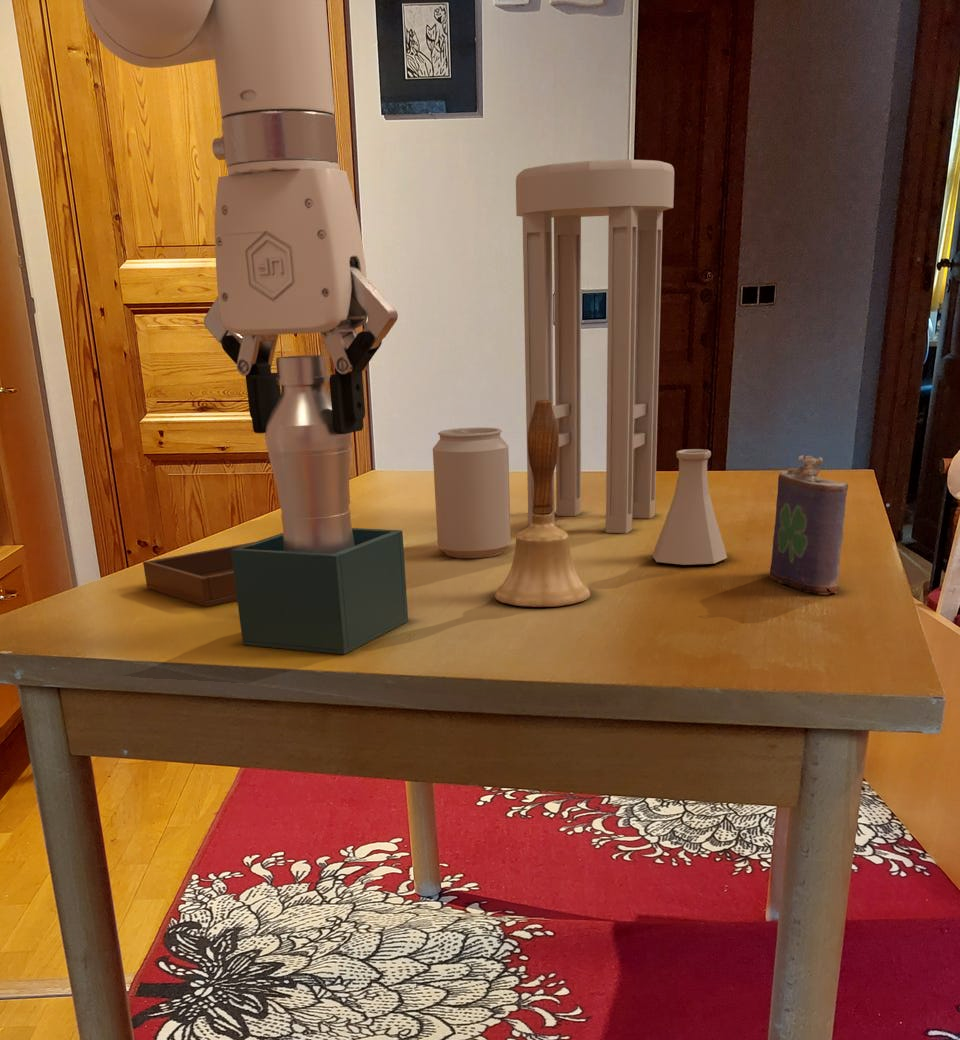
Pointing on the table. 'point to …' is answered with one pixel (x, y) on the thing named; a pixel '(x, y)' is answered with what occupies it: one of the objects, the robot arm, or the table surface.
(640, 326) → the stool
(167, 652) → the table surface
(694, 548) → the flask
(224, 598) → the tray
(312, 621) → the bin
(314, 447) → the metal bottle
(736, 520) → the table surface
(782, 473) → the flask
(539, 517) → the hand bell
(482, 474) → the can
